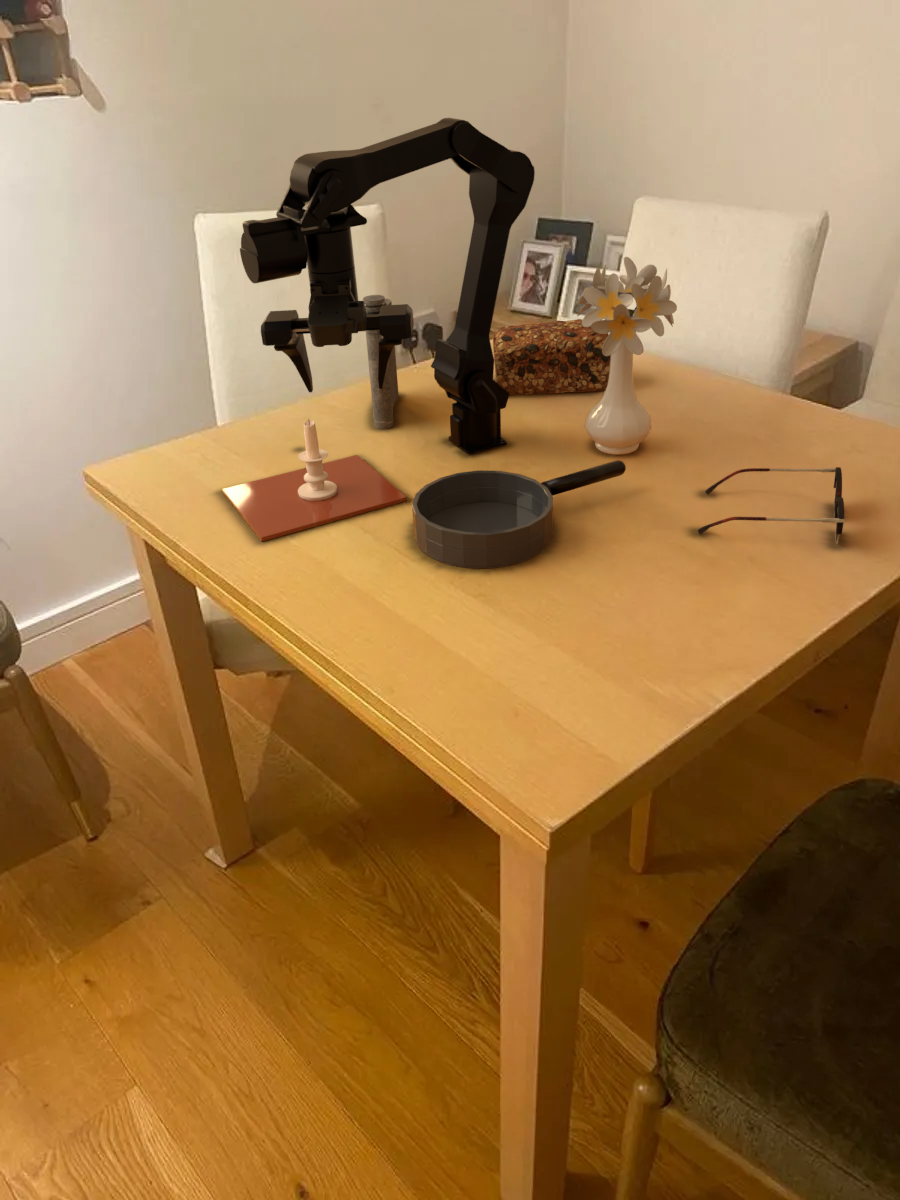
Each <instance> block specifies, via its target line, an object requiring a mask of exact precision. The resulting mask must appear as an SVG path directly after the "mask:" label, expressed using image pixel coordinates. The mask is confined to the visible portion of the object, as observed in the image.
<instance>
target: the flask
mask: <svg viewBox="0 0 900 1200" xmlns="http://www.w3.org/2000/svg"><path fill="white" fill-rule="evenodd" d="M362 301H364V304H365V308H366V314H367V315H373V314H379V313H380V309H381V306H382V305H393V303H392V299H390V298H386V297H385V296H384V295H382V294H370V295H366V296H364V297H363V298H362ZM365 338H366V339H365V340H366V350H367V361H368V362H367V363H368V371H369V372H368V373H369V383H370V392H371V393H370V394H371V404H372V405H371V406H372V416H373V424H374V427H375V428H376V429H378V430H388V429H390V428H393V427H394V426H395V424H394V407H395V404H396V403H397V401H398V400H399V397H400V395H399V394H400V393H399V384H398V383H399V381H398V369H397V356H396V345H395V346H394V347H393V349H392V352H391V354H390V357H389V360H388V363H387V368H386V373H385V378H384V383H383V387H382V389H379V384H378V359H379V348H378V342H379V338H380V332H379V330H369V331H365Z"/></svg>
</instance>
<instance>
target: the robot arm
mask: <svg viewBox="0 0 900 1200" xmlns="http://www.w3.org/2000/svg"><path fill="white" fill-rule="evenodd" d="M447 160H451V161H452V162H453V163H454V165H455V166H456V167H457V168H458V169H460V170H461V171H462V172H464V173H465V174H467V175H468V176H469V185H468V196H469V201H470V205H471V211H472V215H473V224H472V229H471V230H472V231H471V235H470V241H469V246H468V253H467V258H466V263H465V269H464V274H463V279H462V284H461V289H460V290H461V291H460V297H459V302H458V307H457V312H456V318H455V323H454V328H453V330H452V332H451V333H450V334H449V336H447V338H446V339H441V338H437V340H436V342H435V354H434V358H433V361H432V363H431V365H430V367H431V368H432V369H434V370H433V371H434V373H433V376H434V380H435V381H436V383H437V384H438V386H439V387H440V388H441V389H443V390H444V392H445V394H446V396H447V398H448V399H452V400H453V401H455V402H453V403H452V404H451V408H452V414H450V416H449V427H450V435H449V436H448V442H450V443H452V444H453V445H454V446H456V447H457V448H458V449H460V450H462V451H463V452H464V453H466V454H467V455H473V454H477V453H480V452H485V451H488V450H491V449H495V448H500V447H504V446H507V444H508V441H507V440H506V439H505V438H503V437H502V420H501V419H502V414H501V413H502V411H501V410H502V409H506V408H507V405H508V400H509V398H510V394H509V393H508V392H507V391H506V390H505V389H503V388H502V387H501V386H500V385H499V384H498V383H497V382H496V381H495V380H494V373H495V362H494V351H493V347H492V344H491V339H490V334H491V328H492V323H493V318H494V314H495V308H496V303H497V298H498V293H499V288H500V283H501V278H502V273H503V268H504V262H505V258H506V254H507V253H506V252H507V248H508V242H509V238H510V233H511V229H512V226H513V225H514V223H515V222H516V220H517V219H518V218H519V216H520V215H521V213H522V212H523V211H524V209H525V208H526V206H527V203H528V200H529V197H530V195H531V192H532V189H533V186H534V183H535V175H536V170H535V166H534V165H533V163H532V161H531V159H530V157H529V156H528V155H527V154H526V153H524V152H522V151H518V150H513V149H509V148H507V147H505V145H502V144H501V143H499V142H498V141H496V140H495V139H492V138H491V137H489V136H488V135H486V134H485V133H482V132H481V131H480V130H479V129H477V128H476V127H475V126H473V124H472V123H470V121H468V120H465V119H460V118H453V117H444V118H441V119H440V120H439V121H437V122H435V123H433V124H430V125H427V126H424V127H421V128H418V129H415V130H412V131H409V132H405V133H403V134H400V135H397V136H394V137H391V138H388V139H386V140H382V141H379V142H376V143H374V144H370V145H367V146H364V147H361V148H357V149H347V150H346V149H345V150H328V151H319V152H310V153H309V152H308V153H305V154H303V155H300V156H299V157H297V159H295V160H294V162H293V165H292V168H291V169H290V173H289V185H288V187H287V189H286V191H285V193H284V196H283V198H282V200H281V202H280V205H279V207H278V208H277V211H276V212H275V213H276V214H275V216H276V217H272V218H271V217H270V218H266V219H265V218H264V219H250V220H244V221H243V222H242V223H241V224H242V229H243V232H242V234H241V238H240V247H239V255H240V260H241V263H242V266H243V269H244V272H245V274H246V276H247V278H248V279H249V281H250V282H251V283H252V284H260V283H265V282H269V281H274V280H281V279H285V278H289V277H295V276H299V275H300V274H301V273H302V271H303V270H305V269H307V273H308V282H309V288H310V289H309V292H310V297H309V302H308V307H307V308H308V314H307V315H308V317H300V316H299V313H298V310H297V309H286V310H270V311H269V312H268V314H267V315H266V316H265V318H264V320H263V321H262V323H261V325H260V336H261V341H262V345H263V346H265V347H271V346H273V349H274V351H276V352H282V353H283V354H285V355H286V356H287V357H288V358H289V359H290V361H291V363H292V364H293V365H294V367H295V369H296V370H297V372H298V375H299V376H300V378H301V380H302V382H303V383H304V385H305V387H306V389H307V391H308V393H313V391H314V385H313V374H312V370H311V366H310V365H311V364H310V361H309V356H308V350H307V345H306V340H305V336H304V335H305V334H306V335H307V334H309V336H310V340H311V344H312V346H314V347H316V348H324V347H326V346H339V347H345V346H348V345H349V344H351V343H352V341H353V334H359V333H360V332H366V331H369V330H379V332H380V338H379V342H378V348H379V359H378V384H379V389H382V387H383V383H384V378H385V373H386V368H387V363H388V360H389V357H390V354H391V352H392V349H393V347H394V346H395V347H396V346H400V345H402V344H403V341H404V340H408V339H411V338H412V337H413V332H414V325H415V324H414V323H415V322H414V311H413V308H412V307H411V306H410V305H409V304H408V303H405V304H392V305H382V306H381V309H380V313H379V314H373V315H367V314H366V308H365V304H364V301H363V300H359V293H358V285H357V284H358V283H357V275H356V266H355V256H354V247H353V238H352V237H353V236H352V228H354V227H359V226H364V225H366V224H367V223H368V219H367V217H365V216H364V215H362V214H361V213H359V212H358V211H357V210H356V208H355V207H354V205H352V204H354V203H356V202H357V201H359V200H361V199H362V198H363V197H364V196H366V194H367V193H368V192H369V191H370V190H371V189H372V188H375V187H376V186H378V185H379V184H383V183H384V182H388V181H391V180H393V179H396V178H399V177H402V176H405V175H407V174H408V175H409V174H410V173H413V172H416V171H419V170H421V169H424V168H427V167H431V166H434V165H436V164H438V163H442V162H445V161H447ZM305 206H306V209H305Z"/></svg>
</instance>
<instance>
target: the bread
mask: <svg viewBox="0 0 900 1200" xmlns="http://www.w3.org/2000/svg"><path fill="white" fill-rule="evenodd" d="M582 320H583V318H582V319H581V318H577V319H570V320H552V321H549V322H548V321H544V322H540V323H523V324H517V325H516V324H515V325H506V326H505V325H504V326H502V327H500V328H498V329H497V330H495V331H494V332H493V338H492V351H493V357H494V374H495V380H496V381H495V382H496V383H498V384H499V385H500V386H501V387H502V388H503V389H505V390H506V391H507V392H508V393H509V395H520V396H521V395H527V394H528V395H540V394H559V393H561V394H563V393H567V392H568V393H569V392H570V393H583V392H584V393H585V392H595V391H597V390H599V391H600V390H601V391H604V390H606V388H607V384H608V379H609V372H610V361H611V355H610V356H605V355H603V354H602V347H603V344H604V342H605V340H606V338H607V337H608V335H609V333H608V334H600V333H597V332H595V331H593V330H592V329H591V326H589V327H583V325H582Z"/></svg>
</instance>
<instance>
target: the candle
mask: <svg viewBox="0 0 900 1200" xmlns="http://www.w3.org/2000/svg"><path fill="white" fill-rule="evenodd" d="M317 433H318V432H317V427H316V422H315V421H314V420H313V419H310V418H308V420H305V421H304V422H303V434H304V443H305V450H304V451H301V452H300V453H299V454H298V460H300V461H302V462H305V464H306V465H305V468H306V469H307V472H308V473H306V474H305V475H304V480H305V481H306V482H307V483H305V484H303V485H302V486H300V487H299V489H298V495H299V496H300V497H301V498H302V499H305V500H309V501H320V500H325V499H328V498H331V497H332V496H334V495H335V494H336V493H337V486H336V484H334V483H333V482H330V481H326V480H327V479H328V474H327V472H325V471H323V460H324V459H326V458H328V456H329V452H328V451H327V450H325V449H323V448H321V449H320V447H319V440H318V434H317Z"/></svg>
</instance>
